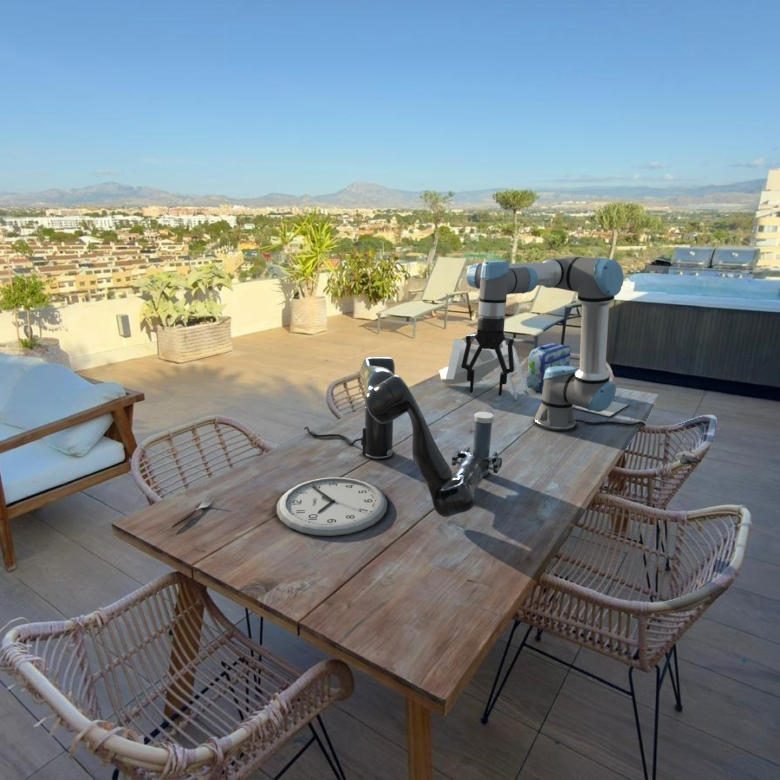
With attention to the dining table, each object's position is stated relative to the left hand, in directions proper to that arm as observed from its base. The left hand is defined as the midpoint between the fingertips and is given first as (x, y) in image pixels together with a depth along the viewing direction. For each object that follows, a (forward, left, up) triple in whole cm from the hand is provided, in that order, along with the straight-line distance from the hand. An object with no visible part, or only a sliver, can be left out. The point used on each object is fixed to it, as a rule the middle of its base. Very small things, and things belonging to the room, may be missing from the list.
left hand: (481, 452), depth 162 cm
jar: (0, -1, -7) cm, 7 cm away
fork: (-64, -56, -7) cm, 85 cm away
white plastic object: (-19, +82, -7) cm, 84 cm away
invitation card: (+34, +84, -7) cm, 91 cm away
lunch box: (+9, +103, -7) cm, 103 cm away
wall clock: (-33, -37, -7) cm, 50 cm away
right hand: (0, -1, +20) cm, 20 cm away
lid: (0, -1, +12) cm, 12 cm away
